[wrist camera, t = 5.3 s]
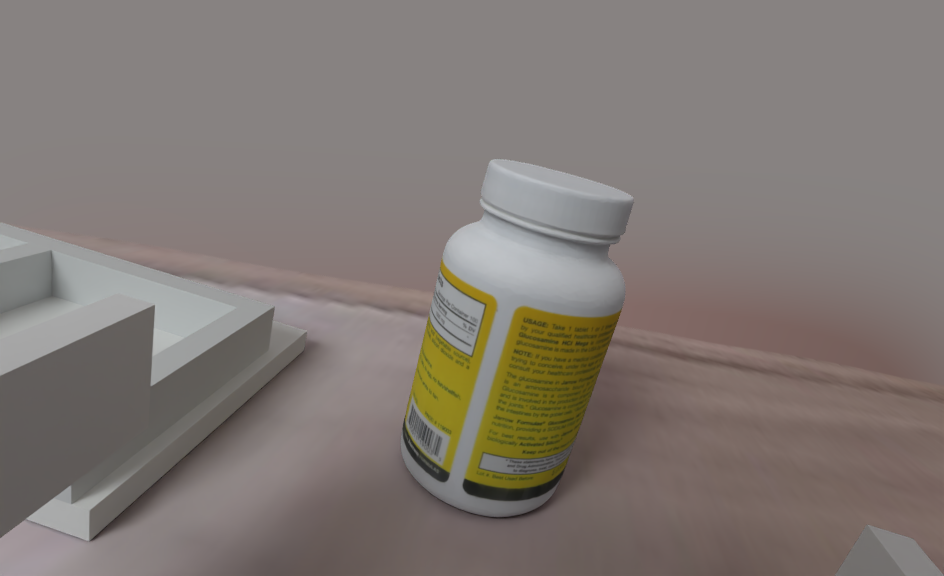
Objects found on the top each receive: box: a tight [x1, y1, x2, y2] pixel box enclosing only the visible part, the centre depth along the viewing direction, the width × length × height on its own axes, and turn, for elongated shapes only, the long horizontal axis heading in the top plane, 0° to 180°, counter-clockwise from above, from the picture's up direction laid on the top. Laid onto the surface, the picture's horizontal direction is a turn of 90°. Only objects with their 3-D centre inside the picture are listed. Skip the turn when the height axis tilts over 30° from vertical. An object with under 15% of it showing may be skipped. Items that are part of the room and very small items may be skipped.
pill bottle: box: [401, 159, 634, 517], centre depth 19 cm, size 6×6×11 cm
